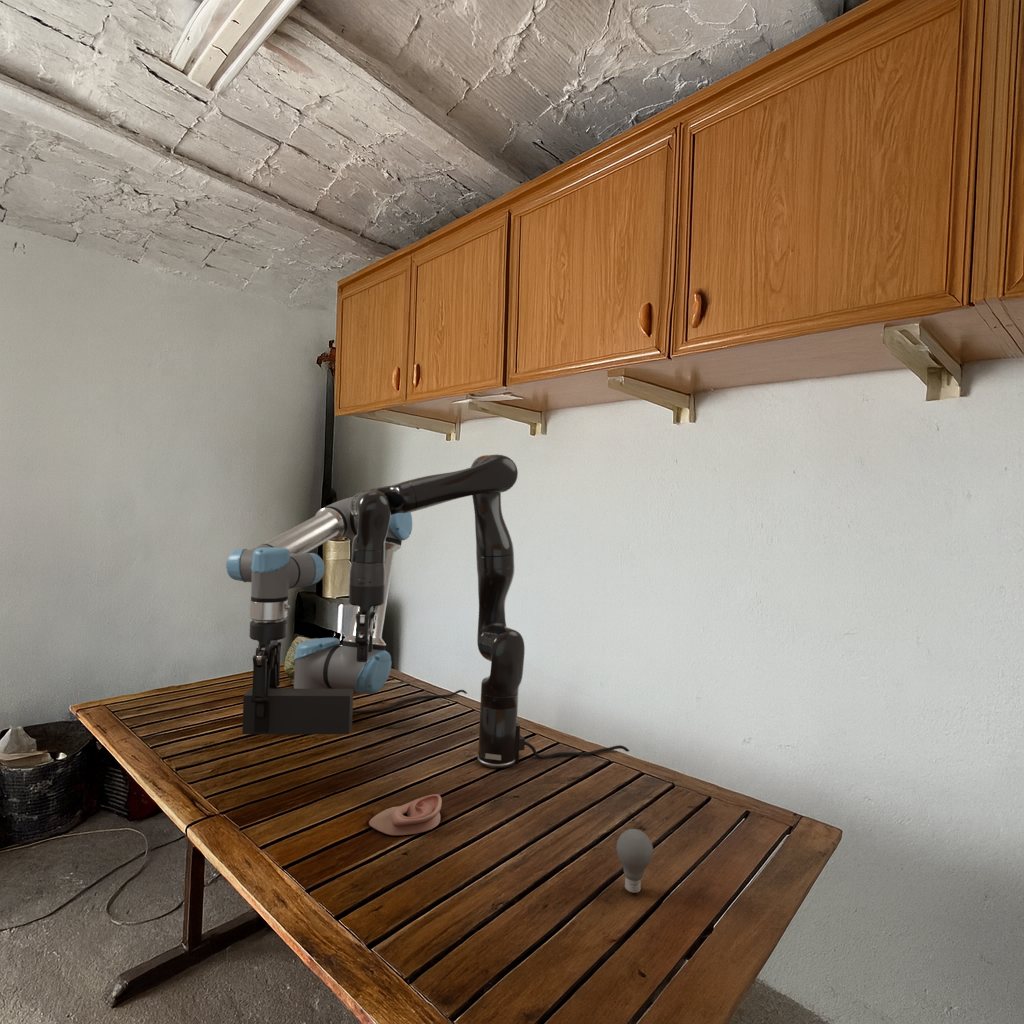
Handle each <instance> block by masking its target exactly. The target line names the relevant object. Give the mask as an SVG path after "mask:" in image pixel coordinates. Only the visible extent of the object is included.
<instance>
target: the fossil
mask: <svg viewBox="0 0 1024 1024" xmlns="http://www.w3.org/2000/svg"><path fill="white" fill-rule="evenodd" d="M313 639H319V638H318V637H315V638H308V637H304V636H297V637H296V638H295V639H294V640H293V641H292V642H291V645H290V646H289V648H288V649H287V652H286V656H285V659H284V667H283V669H284V673H285V674H286V676H287V677H288V678H289V679H290V683H291V685H294V667H295V660H294V658H295V652H296V647H297V645H298V644H300V643H302V642H304V641H308V640H313Z"/></svg>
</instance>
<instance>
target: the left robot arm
mask: <svg viewBox="0 0 1024 1024" xmlns="http://www.w3.org/2000/svg"><path fill="white" fill-rule="evenodd" d="M353 497H354V496H350V497H347V498H343V499H340V500H338V501H335V502H332V503H331V504H328V505H326V506H324V507H323V508H320V509H319V510H318V511H317V512H316V513H315V516H313V517H311V518H309V519H307V520H305V521H304V522H303V521H302V523H300V524H298V525H296V526H294V527H292V528H290V529H288V530H286V531H285V532H282V533H281V534H278V535H277V536H274V537H273V538H271V539H269V540H267V541H265V542H263V543H262V544H259V545H258V546H256V547H254V548H252V549H247V548H243V549H241V548H238V549H235V550H233V551H232V552H231V553H230V554H229V555H228V557H227V559H226V564H225V568H226V573H227V575H228V577H229V578H230V579H232V580H234V581H239V582H243V583H251V585H250V586H251V593H250V606H249V609H250V610H249V618H250V619H251V621H250V622H249V638H250V639H251V640H253V641H257V642H258V645H257V647H256V648H255V654H254V655H253V656H252V667H253V668H252V688H253V690H252V700H251V703H255V725H254V732H261V733H268V730H269V701H268V694H269V688H273V689H282V687H281V686H280V684H281V683H280V681H281V679H280V677H281V674H280V673H281V651H282V642H281V640H284V639H285V638H286V637H287V636H288V621H287V619H286V618H287V617H288V610H290V609H291V605H290V604H288V602H289V590H291V589H296V588H301V587H309V586H311V585H314V584H318V583H319V582H320V581H321V580H322V579H323V577H324V575H325V570H326V568H325V567H326V566H325V563H324V560H323V559H322V558H321V556H320V555H319V554H317V553H314V552H312V551H313V550H315V549H316V548H318V547H320V546H321V545H323V544H325V543H327V542H329V541H337V540H339V539H340V538H343V537H355V536H356V535H357V532H358V522H359V520H357V519H356V518H355V517H354V516H353V515H352V513H351V510H350V503H351V500H352V498H353ZM412 530H413V517H412V512H409V513H397V514H393V515H391V516H390V523H389V527H388V532H387V536H386V540H385V597H384V604H382V605H380V606H376V608H375V612H376V620H375V621H376V624H375V629H374V634H373V642H372V651H371V652H368V660H367V662H358V661H357V644H356V643H355V639H356V631H355V629H356V614H358V612H359V610H360V607H359V606H354V605H353V612H352V619H351V624H350V630H349V634H348V635H347V636H346V637H345V638H343V639H342V643H341V641H340V639H339V638H337V637H321V638H318V639H315V638H312V639H313V640H308V641H304V642H302V643H300V644H298V645H297V647H296V652H295V658H294V660H295V667H294V684H293V689H353V693H356V694H358V695H360V694H361V695H362V694H366V695H373V694H376V693H378V692H379V691H380V690H382V689H383V687H384V686H385V685H386V683H387V682H388V679H389V677H390V673H391V669H392V656H391V654H390V652H388V651H387V650H386V647H387V643H385V641H384V639H383V630H384V624H385V616H386V609H387V605H388V598H389V592H390V591H389V590H390V585H391V579H392V578H391V577H392V571H393V565H394V559H395V553H396V552H397V551H398V550H399V549H401V547H402V542H403V541H405V540H408V539H409V538H410V536H411V534H412ZM362 636H363V635H360V637H362ZM340 644H342V645H340ZM459 693H464V694H465V695H466V694H468V692H467V691H466V690H465V689H458V690H456V691H454V692H452V693H447V694H432V695H431V694H430V695H429V694H428V695H421V696H420V695H419V696H415V697H410V698H406V699H402V700H399V701H397V702H395V703H393V704H391V705H389V706H385V707H380V708H373V709H362V710H353V714H365V713H375V712H381V711H386V710H389V709H392V708H395V707H397V706H398V705H401V704H404V703H407V702H411V701H415V700H422V699H429V698H448V697H453V696H455V695H458V694H459Z"/></svg>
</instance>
